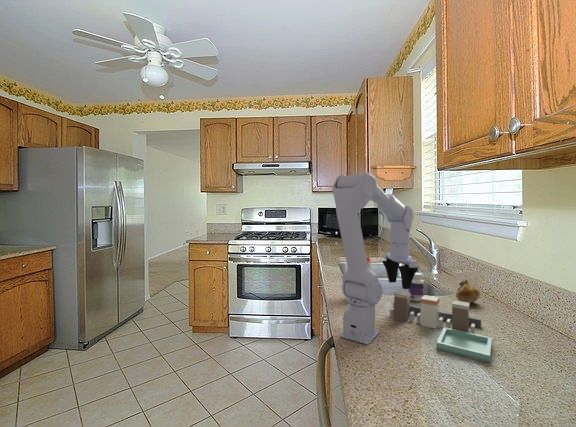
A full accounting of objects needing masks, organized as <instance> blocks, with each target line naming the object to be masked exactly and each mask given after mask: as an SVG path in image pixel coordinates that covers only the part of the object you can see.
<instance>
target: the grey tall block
mask: <svg viewBox="0 0 576 427" xmlns="http://www.w3.org/2000/svg"><path fill="white" fill-rule="evenodd" d="M420 306H421V322H420V326H422V327H423V326H424V327H428V328H432V329H437V328H438V327H439V310H440V296H433V295H427V294H424V296H423V297H422V298H421V301H420Z"/></svg>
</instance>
